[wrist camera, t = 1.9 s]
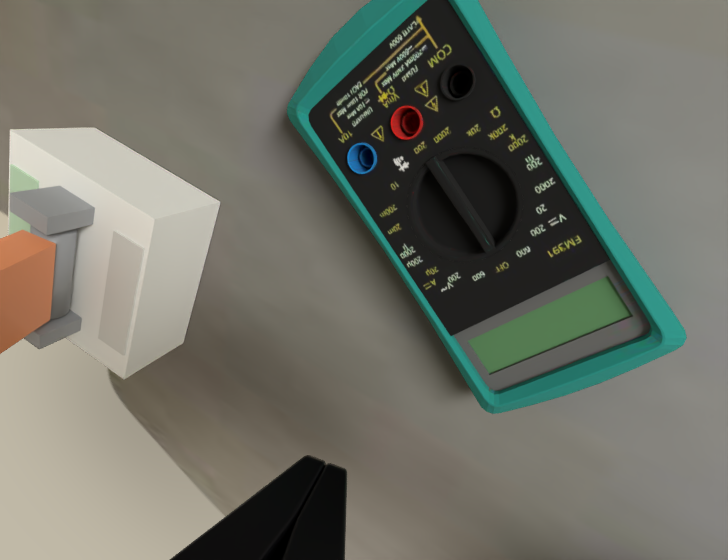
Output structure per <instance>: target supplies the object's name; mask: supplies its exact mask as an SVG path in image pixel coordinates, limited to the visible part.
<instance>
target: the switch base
mask: <svg viewBox="0 0 728 560" xmlns="http://www.w3.org/2000/svg"><path fill="white" fill-rule="evenodd" d="M220 203H221V202H220V201H218V200H216V199H215V198H213V197H211V196H209V195H208V194H206V193H204V192H203V191H201V190H199V189H198V188H196V187H194V186H193V185H191V184H189V183H187V182H186V181H184V180H182V179H181V178H179V177H177V176H176V175H174V174H172V173H171V172H169V171H167V170H165V169H164V168H162V167H160V166H159V165H157V164H155V163H154V162H152V161H150V160H149V159H147V158H145V157H144V156H142V155H140V154H138V153H137V152H135V151H133V150H132V149H130V148H128V147H127V146H125V145H123V144H122V143H120V142H118V141H116V140H115V139H113V138H111V137H110V136H108V135H106V134H105V133H103V132H101V131H100V130H98V129H96V128H53V129H10V158H9V217H8V235H11V234H13V233H16V232H18V231H20V230H25V231H27V232H29V233H30V226H31V225H32V226H33V227H35V228H36V229H38V230H39V231H41V232H42V233H44V234H45V235H50V234H54V233H59V232H63V231H67V230H71V229H76V228H78V229H77V239H76V249H75V259H74V269H73V279H72V289H71V299H70V308H69V312H68V313H67V314H66V315H64V316H62V317H60V318H56V319H50V320H49V321H48V322H46V323H45V324H43V325H42V326H40V327H39V328H37V329H36V330H34V331H33V332H31V333H30V334H28V335H27V336H26V337H24V339H26V340H27V341H28V342H30V343H31V344H32V345H34V346H35V347H37V348H38V349H41V348H43V347H46V346H48V345H50V344H52V343H54V342H57V341H59V340H61V339H63V338H66V339H68V340H69V341H71V342H72V343H73V344H75V345H77V346H78V347H79V348H81V349H82V350H83V351H85V352H86V353H88V354H89V355H91V356H92V357H93V358H95V359H96V360H97V361H99V362H100V363H102V364H103V365H104V366H106V367H107V368H109V369H110V370H111V371H113V372H114V373H116V374H117V375H118V376H120V377H121V378H123V379H126V378H127V377H129V376H131V375H132V374H134V373H136V372H137V371H139V370H140V369H142V368H144V367H145V366H147V365H148V364H150V363H152V362H153V361H155V360H157V359H158V358H160V357H161V356H163V355H165V354H166V353H168V352H169V351H171V350H173V349H174V348H176V347H178V346H179V345H181V344H182V343H184V339H185V335H186V331H187V328H188V324H189V320H190V316H191V312H192V309H193V305H194V301H195V297H196V294H197V290H198V286H199V282H200V278H201V275H202V271H203V267H204V263H205V259H206V256H207V252H208V248H209V244H210V241H211V237H212V233H213V229H214V225H215V222H216V218H217V214H218V210H219V206H220Z"/></svg>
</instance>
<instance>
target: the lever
mask: <svg viewBox="0 0 728 560" xmlns="http://www.w3.org/2000/svg"><path fill="white" fill-rule="evenodd" d="M77 229H78V228H76V229H71V230H67V231H63V232H59V233H54V234H50V235H45V234H44V233H42V232H41V231H39V230H38V229H36V228H35V227H33V226H32V225H31V226H30V233H29V232H27V231H25V230H20V231H18V232H16V233H13V234H11V235H8V236H6V237H3V238H1V239H0V354H1V353H2V352H3V351H5V350H7V349H8V348H9V347H11V346H12V345H14V344H15V343H17V342H18V341H19V340H21V339H23V338H24V337H26V336H27V335H28V334H30V333H31V332H33V331H34V330H36V329H37V328H39V327H40V326H42V325H43V324H45V323H46V322H48V321H49V320H50V319H56V318H60V317H62V316H64V315H66V314H67V313H68V312H69V308H70V299H71V289H72V279H73V269H74V259H75V249H76V239H77Z"/></svg>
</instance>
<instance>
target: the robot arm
mask: <svg viewBox="0 0 728 560" xmlns="http://www.w3.org/2000/svg"><path fill="white" fill-rule="evenodd" d="M346 497H347V471H346V469H344V468H342V467H339V466H337V465H334V464H331V463H328V464H327V465H326V463H325V461H323V460H321V459H318V458H315V457H313V456H310V455H307V456H304V457H303V458H301V459H300V460H299V461H297V462H296V463H295V464H294V465H292V466H291V467H290V468H288V469H287V470H286V471H284V472H283V473H282V474H281V475H279V476H278V477H277V478H275V479H274V480H273V481H271V482H270V483H269V484H268V485H266V486H265V487H264V488H262V489H261V490H260V491H258V492H257V493H256V494H255V495H253V496H252V497H251V498H249V499H248V500H247V501H245V502H244V503H243V504H241V505H240V506H239V507H238V508H236V509H235V510H234V511H232V512H231V513H230V514H228V515H227V516H226V517H225V518H223V519H222V520H221V521H219V522H218V523H217V524H216V525H215V526H213V527H212V528H210V529H209V530H208V531H207V532H205V533H204V534H203V535H201V536H200V537H199V538H197V539H196V540H195V541H193V542H192V543H191V544H189V545H188V546H187V547H186V548H184V549H183V550H182V551H180V552H179V553H178V554H176V555H175V556H174V557H173V558H171V559H170V560H345V532H346Z"/></svg>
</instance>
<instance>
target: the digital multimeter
mask: <svg viewBox="0 0 728 560" xmlns="http://www.w3.org/2000/svg"><path fill="white" fill-rule="evenodd" d="M449 2H450V3H451V4H450V3H449ZM451 5H452V6H451ZM453 8H454V9H453ZM454 10H455V11H456V12H455V11H454ZM413 12H414V13H413ZM412 13H413V14H412ZM456 13H457V14H456ZM411 14H412V15H411ZM458 16H459V17H458ZM459 18H460V19H461V20H460V19H459ZM461 21H462V22H461ZM402 22H403V23H402ZM401 23H402V24H401ZM400 24H401V25H400ZM463 24H464V25H463ZM399 25H400V26H399ZM398 26H399V27H398ZM464 26H465V27H466V28H465V27H464ZM397 27H398V28H397ZM396 28H397V29H396ZM395 29H396V30H395ZM466 29H467V30H466ZM394 30H395V31H394ZM468 32H469V33H468ZM469 34H470V35H471V36H470V35H469ZM471 37H472V38H471ZM385 38H386V39H385ZM384 39H385V40H384ZM383 40H384V41H383ZM473 40H474V41H473ZM382 41H383V42H382ZM381 42H382V43H381ZM474 42H475V43H476V44H475V43H474ZM380 43H381V44H380ZM379 44H380V45H379ZM378 45H379V46H378ZM476 45H477V46H476ZM478 48H479V49H478ZM479 50H480V51H481V52H480V51H479ZM481 53H482V54H481ZM368 54H369V55H368ZM367 55H368V56H367ZM366 56H367V57H366ZM483 56H484V57H483ZM365 57H366V58H365ZM364 58H365V59H364ZM484 58H485V59H486V60H485V59H484ZM363 59H364V60H363ZM362 60H363V61H362ZM361 61H362V62H361ZM486 61H487V62H486ZM488 64H489V65H488ZM489 66H490V67H491V68H490V67H489ZM491 69H492V70H491ZM351 70H352V71H351ZM350 71H351V72H350ZM349 72H350V73H349ZM493 72H494V73H493ZM348 73H349V74H348ZM347 74H348V75H347ZM494 74H495V75H496V76H495V75H494ZM346 75H347V76H346ZM345 76H346V77H345ZM344 77H345V78H344ZM496 77H497V78H496ZM498 80H499V81H498ZM499 82H500V83H499ZM501 85H502V86H501ZM334 86H335V87H334ZM333 87H334V88H333ZM332 88H333V89H332ZM503 88H504V89H503ZM331 89H332V90H331ZM330 90H331V91H330ZM504 90H505V91H504ZM329 91H330V92H329ZM328 92H329V93H328ZM327 93H328V94H327ZM506 93H507V94H506ZM508 96H509V97H508ZM509 98H510V99H509ZM511 101H512V102H511ZM514 106H515V107H514ZM516 109H517V110H516ZM287 114H288V117H289V120H290V121H291V123H292V124H293V125H294V127H295V128H296V129H297V131H298V132H299V133H300V135H301V136H302V138H303V139H304V140H305V142H306V143H307V144H308V146H309V147H310V148H311V150H312V151H313V152H314V154H315V155H316V156H317V158H318V159H319V160H320V162H321V163H322V164H323V166H324V167H325V168H326V170H327V171H328V172H329V174H330V175H331V177H332V178H333V179H334V181H335V182H336V184H337V185H338V186H339V188H340V189H341V191H342V192H343V193H344V195H345V196H346V198H347V199H348V200H349V202H350V203H351V205H352V206H353V208H354V209H355V210H356V212H357V213H358V215H359V216H360V217H361V219H362V220H363V222H364V223H365V224H366V226H367V227H368V229H369V230H370V232H371V233H372V234H373V236H374V237H375V239H376V240H377V241H378V243H379V244H380V246H381V247H382V248H383V250H384V251H385V253H386V255H387V256H388V258H389V259H390V261H391V262H392V264H393V265H394V267H395V268H396V270H397V272H398V273H399V275H400V276H401V278H402V279H403V281H404V282H405V284H406V285H407V287H408V289H409V290H410V292H411V293H412V295H413V296H414V298H415V299H416V301H417V302H418V304H419V305H420V307H421V309H422V310H423V312H424V313H425V315H426V316H427V318H428V319H429V321H430V323H431V324H432V326H433V328H434V329H435V331H436V333H437V334H438V336H439V338H440V339H441V341H442V343H443V344H444V346H445V348H446V349H447V351H448V353H449V354H450V356H451V358H452V359H453V361H454V363H455V364H456V366H457V368H458V369H459V371H460V372H461V374H462V376H463V377H464V379H465V381H466V382H467V384H468V386H469V387H470V389H471V391H472V392H473V394H474V396H475V397H476V399H477V401H478V402H479V404H480V406H481V407H482V408H483V409H484V410H485V411H487V412H490V413H493V414H495V413H502V412H506V411H510V410H514V409H518V408H522V407H526V406H530V405H533V404H537V403H540V402H544V401H547V400H551V399H554V398H558V397H561V396H565V395H568V394H570V393H573V392H576V391H579V390H582V389H585V388H587V387H590V386H593V385H596V384H599V383H601V382H604V381H606V380H608V379H611V378H613V377H616V376H618V375H620V374H623V373H625V372H628V371H630V370H632V369H635V368H637V367H639V366H641V365H644V364H646V363H648V362H650V361H652V360H655V359H657V358H659V357H661V356H663V355H666V354H668V353H670V352H672V351H674V350H676V349H678V348H679V347H681V346H682V345H683V344H684V342H685V340H686V333H685V330H684V328H683V327H682V325H681V324H680V322H679V320H678V319H677V317H676V316H675V314H674V313H673V311H672V310H671V308H670V307H669V305H668V304H667V303H666V301H665V300H664V298H663V297H662V295H661V294H660V292H659V291H658V290H657V288H656V287H655V285H654V284H653V282H652V281H651V279H650V278H649V277H648V275H647V274H646V272H645V271H644V269H643V268H642V266H641V265H640V264H639V262H638V261H637V259H636V258H635V256H634V255H633V253H632V252H631V251H630V249H629V248H628V246H627V245H626V243H625V242H624V241H623V239H622V238H621V236H620V235H619V233H618V232H617V230H616V229H615V228H614V226H613V225H612V223H611V222H610V220H609V219H608V217H607V216H606V214H605V213H604V211H603V210H602V208H601V206H600V205H599V203H598V202H597V200H596V199H595V197H594V196H593V194H592V192H591V191H590V189H589V188H588V186H587V185H586V183H585V182H584V180H583V178H582V177H581V175H580V174H579V172H578V171H577V169H576V168H575V166H574V164H573V163H572V161H571V160H570V158H569V157H568V155H567V153H566V152H565V150H564V149H563V147H562V146H561V144H560V143H559V141H558V139H557V138H556V136H555V135H554V133H553V131H552V129H551V128H550V126H549V124H548V123H547V121H546V119H545V117H544V116H543V114H542V112H541V111H540V109H539V107H538V105H537V104H536V102H535V100H534V99H533V97H532V95H531V93H530V92H529V90H528V88H527V86H526V85H525V83H524V81H523V80H522V78H521V76H520V74H519V73H518V71H517V69H516V68H515V66H514V64H513V62H512V61H511V59H510V57H509V56H508V54H507V52H506V50H505V49H504V47H503V45H502V43H501V41H500V39H499V38H498V36H497V34H496V32H495V30H494V29H493V27H492V25H491V23H490V21H489V19H488V18H487V16H486V14H485V12H484V10H483V9H482V7H481V5H480V3H479V1H478V0H372V1H370V2H369V3H368V4H366V5H365V6H364V7H362V8H361V9H360V10H359V11H358V12H357V13H356V14H355V15H354V16H353V17H352V18H351V19H350V20H349V21H348V22H347V23H346V24H345V25H344V26H343V27H342V28H341V29H340V30H339V31H338V32H337V33H336V34H335V35H334V36H333V37H332V38H331V40H330V41H329V43H328V44H327V45H326V47H325V48H324V49H323V51H322V52H321V54H320V55H319V56H318V58H317V59H316V61H315V62H314V63H313V65H312V66H311V68H310V69H309V71H308V72H307V74H306V76H305V77H304V79H303V81H302V82H301V84H300V85H299V87H298V89H297V90H296V92H295V94H294V95H293V97H292V99H291V100H290V102H289V104H288V106H287ZM474 148H476V149H474ZM451 149H452V150H451ZM486 151H487V152H486ZM442 152H443V153H442ZM488 152H489V153H488ZM496 156H497V157H496ZM499 158H500V159H499ZM505 163H506V164H507V165H508V166H509V167H508V166H507V165H506V164H505ZM423 165H424V166H423ZM422 166H423V167H422ZM421 167H422V168H421ZM514 174H515V175H514ZM415 175H416V176H415ZM411 183H412V184H411ZM519 184H520V185H519ZM522 195H523V196H522ZM576 205H577V206H576ZM581 213H582V214H581ZM408 218H409V219H408ZM521 218H522V219H521ZM586 221H587V222H586ZM411 227H412V228H411ZM517 229H518V230H517ZM591 229H592V230H591ZM516 231H517V232H516ZM596 237H597V238H596ZM510 240H511V241H510ZM422 244H423V245H424V246H423V245H422ZM601 245H602V246H601ZM502 248H503V249H502ZM501 249H502V250H501ZM430 251H431V252H430ZM606 253H607V254H606ZM492 255H493V256H492ZM485 258H486V259H485ZM482 259H483V260H482ZM449 260H450V261H449ZM474 261H475V262H474Z"/></svg>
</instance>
